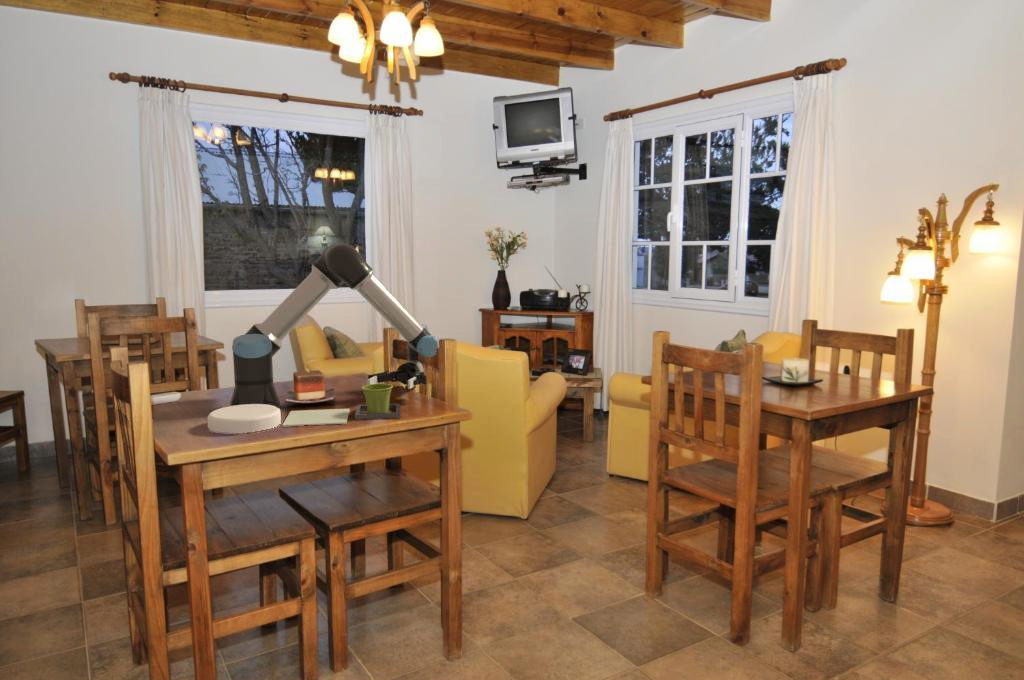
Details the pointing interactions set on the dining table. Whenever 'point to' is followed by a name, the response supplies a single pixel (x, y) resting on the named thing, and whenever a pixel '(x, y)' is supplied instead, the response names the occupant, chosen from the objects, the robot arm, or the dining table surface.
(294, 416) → the sage mat
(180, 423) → the dining table surface
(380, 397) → the plant pot
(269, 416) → the container
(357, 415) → the pot collar
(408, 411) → the dining table surface
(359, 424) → the dining table surface
